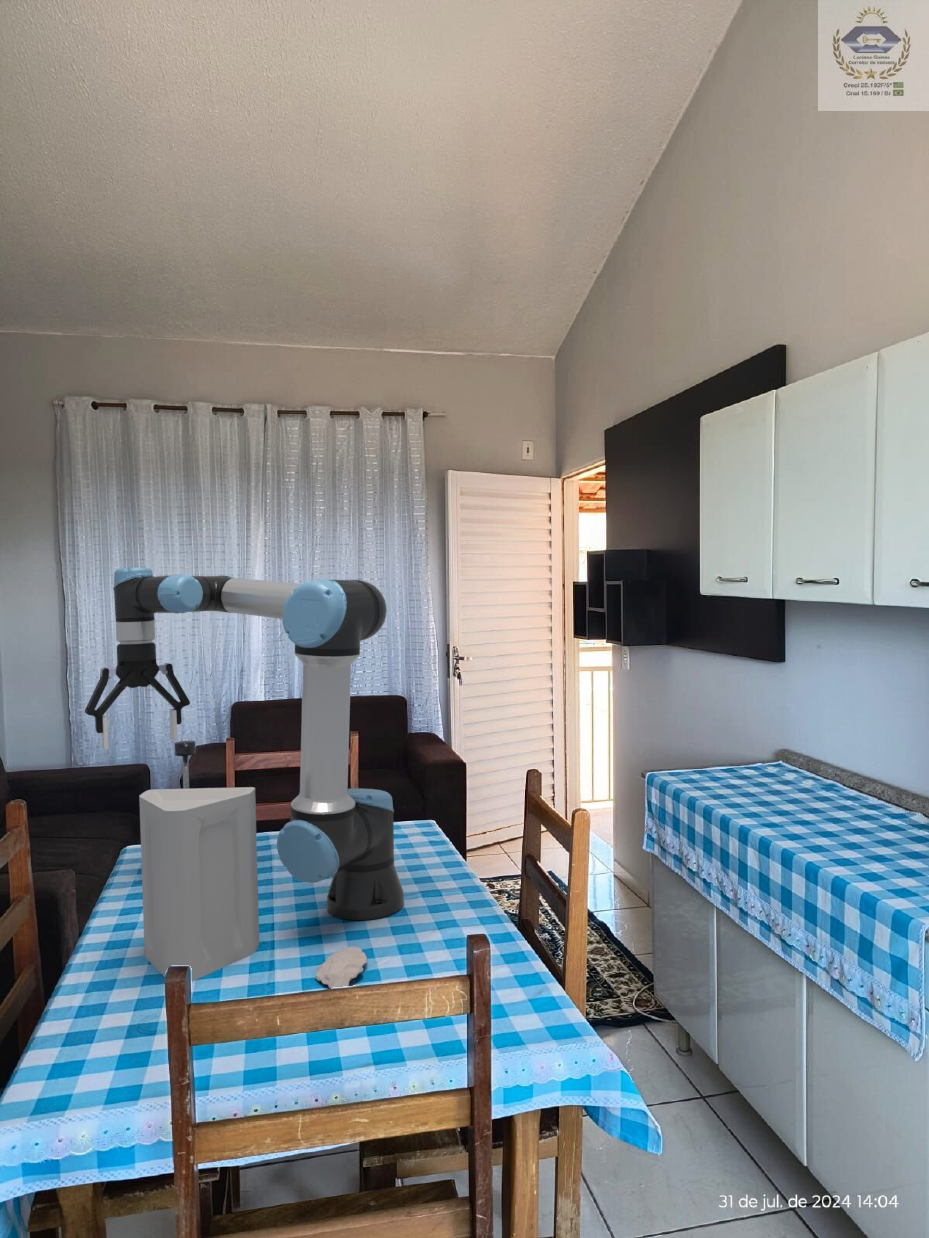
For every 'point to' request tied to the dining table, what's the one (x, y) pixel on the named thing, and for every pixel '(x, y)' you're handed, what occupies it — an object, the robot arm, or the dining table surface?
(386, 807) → the robot arm
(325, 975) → the stone tool
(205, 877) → the grey triangular prism
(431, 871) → the dining table surface
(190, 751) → the plunger
